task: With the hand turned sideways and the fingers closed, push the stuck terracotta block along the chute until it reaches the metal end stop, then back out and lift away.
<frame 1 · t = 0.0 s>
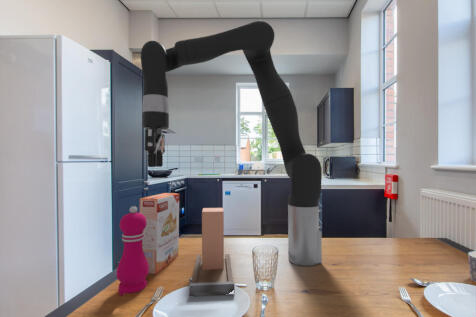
hand: (155, 166, 75), 29 cm above the table, tool pointing down, fingers open, 8 cm apart
block: (213, 237, 74), point 9 cm above the table, slide at 0.0 cm
cracker box: (160, 266, 75), on the table
chute: (212, 277, 68), on the table
pepper mill: (133, 290, 61), on the table
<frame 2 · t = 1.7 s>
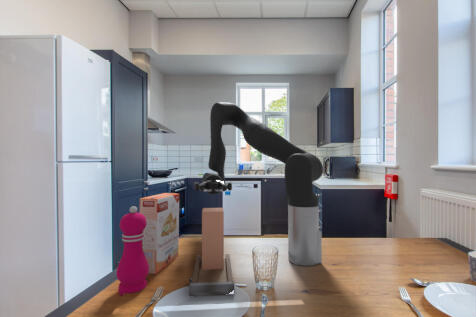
hand: (213, 188, 84), 22 cm above the table, tool horizontal, fingers open, 6 cm apart
nothing on the table moved.
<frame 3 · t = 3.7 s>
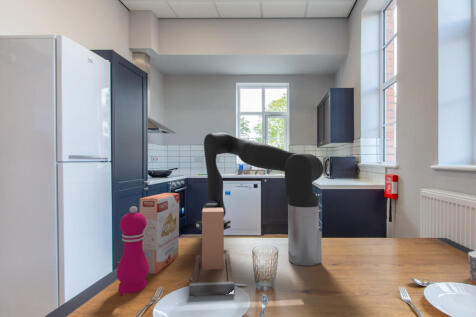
hand: (213, 230, 83), 8 cm above the table, tool horizontal, fingers closed
nothing on the table moved.
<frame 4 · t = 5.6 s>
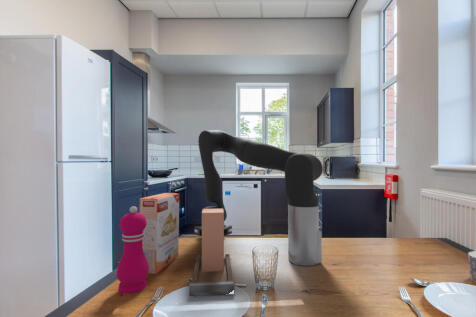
hand: (213, 237, 75), 8 cm above the table, tool horizontal, fingers closed
block: (212, 238, 72), point 9 cm above the table, slide at 1.4 cm, touching gripper
everything else where it was.
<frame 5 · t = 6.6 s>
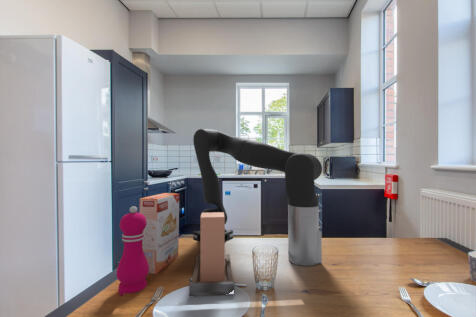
hand: (212, 243, 70), 8 cm above the table, tool horizontal, fingers closed
block: (212, 245, 67), point 9 cm above the table, slide at 7.2 cm, touching gripper
everything else where it was.
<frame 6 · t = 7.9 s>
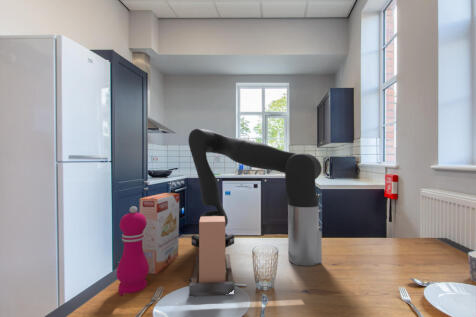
hand: (212, 250, 65), 8 cm above the table, tool horizontal, fingers closed
block: (212, 252, 62), point 9 cm above the table, slide at 12.2 cm, touching gripper
everything else where it was.
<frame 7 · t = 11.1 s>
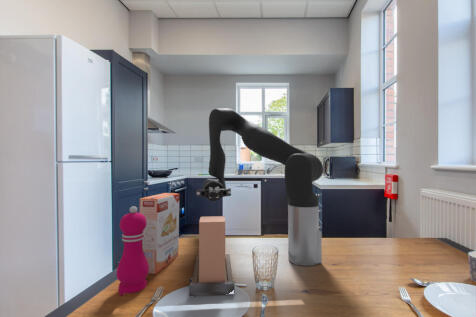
hand: (213, 195, 83), 20 cm above the table, tool horizontal, fingers closed
block: (212, 252, 62), point 9 cm above the table, slide at 12.3 cm
everything else where it was.
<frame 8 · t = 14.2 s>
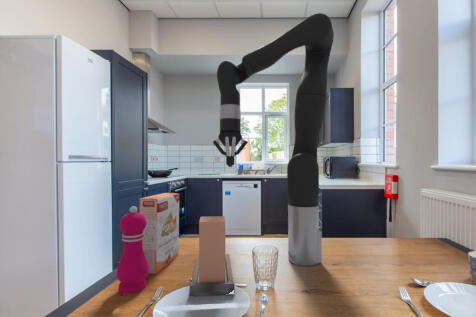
hand: (230, 166, 92), 29 cm above the table, tool pointing down, fingers closed
nothing on the table moved.
at the end: block slide at 12.3 cm; cracker box moved 0.2 cm from its start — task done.
